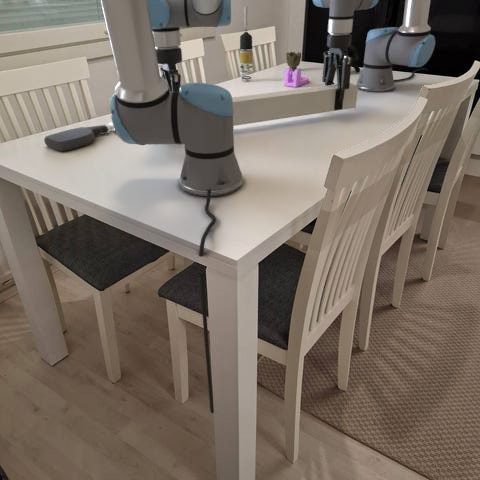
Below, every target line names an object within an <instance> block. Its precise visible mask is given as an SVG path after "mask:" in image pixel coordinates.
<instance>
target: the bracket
mask: <svg viewBox="0 0 480 480" xmlns="http://www.w3.org/2000/svg"><path fill="white" fill-rule="evenodd" d="M284 75H285V77H284V86H287V87H292V88H293V87H294V88H298V87H301V86H302V85H306V84H307V83H309V82H310V78H309V77H307V76H302V71H301V69H299V68H297V69H296V70H295V71H293V70H292V68H290V67H287V68H286V69H285V73H284Z"/></svg>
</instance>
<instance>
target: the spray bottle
mask: <svg viewBox="0 0 480 480" xmlns="http://www.w3.org/2000/svg"><path fill="white" fill-rule="evenodd" d="M109 131H112V132H116V130H115V128H114V125H113V122H112V121H109V123H106V124H100V125H93V126H86V127H84V126H80V127H75V128H71V129H67V130H62V131H59V132H55V133H53V134H48V135H46V136H45V137H44V144H45V146H46V147H48V148H51V149H53V150H56V151H58V152H67V151H71V150H74V149H77V148H80V147H84V146H88V145H89V144H92V143H93V141H94V139H95V136H98V135H102V134H105V133H106V134H107V133H108V132H109Z"/></svg>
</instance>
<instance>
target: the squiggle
mask: <svg viewBox="0 0 480 480" xmlns="http://www.w3.org/2000/svg"><path fill="white" fill-rule="evenodd" d="M349 52H350V53H349ZM347 53H348V56H349V57H352V58H353V57H354V58H353V61H352V64H351V68H353V69H354V70H355V72H356V73H359V72H360V73H361V68H360V66H359V65H358V64H357V63H358V62H359V60H360V55H359V53H358V49H357V47H356V46H355V45H351V46H350V47H349V50H348V49H347ZM342 65H343V64H342ZM339 66H341V65H339Z"/></svg>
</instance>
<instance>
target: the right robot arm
mask: <svg viewBox="0 0 480 480" xmlns="http://www.w3.org/2000/svg"><path fill="white" fill-rule="evenodd" d="M379 1H380V0H312V3H313V5H314V6H316V7H318V8H323V9H329V15H328V24H327V33H328V34H327V36H326V37H327V38H326V39H327V41H326V47H327V48H329V49H328V50H327V51H323V67H322V79H321V82H322V83H324V86H327V85H335V82H334V80H335V76H336V84H337V85H338V89H336V95H335V107H334V110H337V111H341V110H340V109H342V107H343V99H344V91H345V90H346V89H349V86H350V83H351V73H352V72H351V71H352V66H351V64H352V61H353V60H354V58H353V56H352V57H349V53H347V50H348V49H349V48H350V46H352V36H353V35H352V34H351V33H352V32H353V25H354V24H353V23H354V15H355V11H361V10H365V11H366V10H368V9H372V8H374V7H375V6H376V5H377V4H378V3H379ZM430 5H431V0H405V1H404V11H403V18H402V25H401V26H399V27H397V26H395V27H394V26H391V27H381V28H373V29H369V31H368V32H367V34H366V35H367V36H366V40H365V49H364V57H363V67H362V70H361V71H360V74H359V77H358V78H357V81H356V85H357V86H358V90H361V91H365V92H372V93H373V92H375V93H383V92H389V91H393V90H394V88H395V83H396V82H402V81H407V80H410V79H411V78H413V77H414V76H415V73H417V72H419V71H425V72H429V70H428V69H427V67H426V68H425V67H423V66H424V65H426V64H427V63H428V61H429V60H430V59H431V57H432V55H433V54H434V53H433V52H434V50H435V46H436V38H435V37H436V36H434V35H433V34H431V29H432V27H431V26H430V25H429V24H428V20H429V13H430V7H431V6H430ZM342 64H343V65H342ZM340 65H341V66H340ZM394 65H398V66H405V67H408V68H418V69H415V70H413V71H411V75H410V76H408V77H405V78H399V79H394V74H393V66H394Z"/></svg>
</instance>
